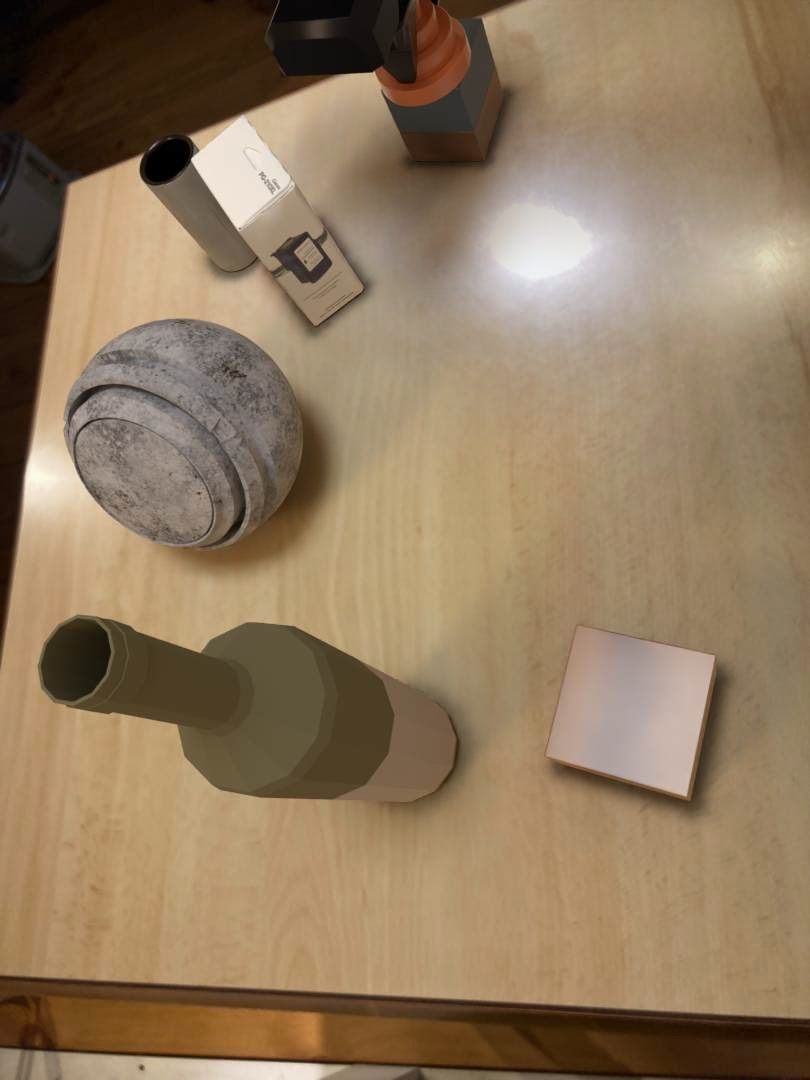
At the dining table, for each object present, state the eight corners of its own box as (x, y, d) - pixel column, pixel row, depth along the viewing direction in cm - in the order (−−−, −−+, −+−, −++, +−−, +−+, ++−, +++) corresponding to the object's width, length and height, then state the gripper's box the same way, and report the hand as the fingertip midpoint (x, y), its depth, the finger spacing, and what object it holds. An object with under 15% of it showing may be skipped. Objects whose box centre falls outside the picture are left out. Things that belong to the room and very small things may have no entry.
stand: (716, 674, 46) (716, 654, 41) (690, 801, 45) (687, 798, 39) (591, 645, 49) (576, 623, 44) (562, 764, 48) (543, 756, 42)
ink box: (267, 261, 67) (184, 155, 56) (317, 222, 66) (242, 109, 56) (314, 329, 63) (235, 230, 53) (367, 289, 63) (298, 181, 52)
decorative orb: (135, 558, 62) (-23, 484, 49) (189, 383, 66) (55, 269, 52) (311, 584, 57) (187, 508, 43) (359, 391, 60) (258, 265, 47)
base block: (504, 96, 64) (495, 64, 61) (484, 161, 63) (474, 131, 60) (432, 98, 66) (421, 67, 64) (411, 161, 65) (399, 133, 62)
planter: (209, 242, 70) (132, 153, 61) (255, 215, 69) (185, 121, 60) (222, 281, 68) (145, 196, 59) (270, 254, 67) (199, 163, 58)
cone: (481, 27, 52) (461, -48, 48) (457, 105, 51) (434, 36, 47) (395, 33, 55) (367, -38, 50) (369, 108, 53) (339, 42, 49)
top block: (495, 64, 61) (482, 16, 58) (474, 131, 60) (459, 88, 57) (421, 67, 64) (403, 22, 60) (399, 133, 62) (380, 90, 59)
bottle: (354, 697, 53) (-13, 565, 26) (461, 681, 51) (181, 520, 24) (362, 813, 50) (-34, 799, 24) (474, 801, 49) (180, 770, 22)
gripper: (229, -346, 43) (346, -57, 57) (103, -62, 39) (262, 174, 53) (430, -403, 38) (503, -75, 52) (313, -90, 34) (425, 174, 48)
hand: (419, 47), depth 52 cm, fingers closed on cone, 5 cm apart
